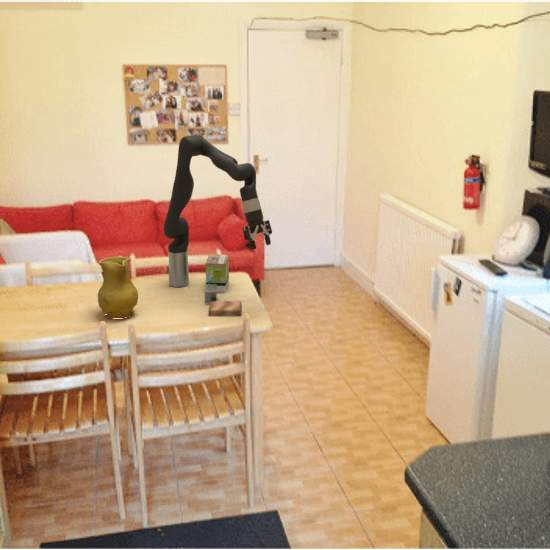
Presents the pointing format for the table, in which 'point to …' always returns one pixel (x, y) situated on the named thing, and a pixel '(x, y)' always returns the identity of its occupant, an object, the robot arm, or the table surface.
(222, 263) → the tea box
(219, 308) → the stand
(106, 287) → the pitcher
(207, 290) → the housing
